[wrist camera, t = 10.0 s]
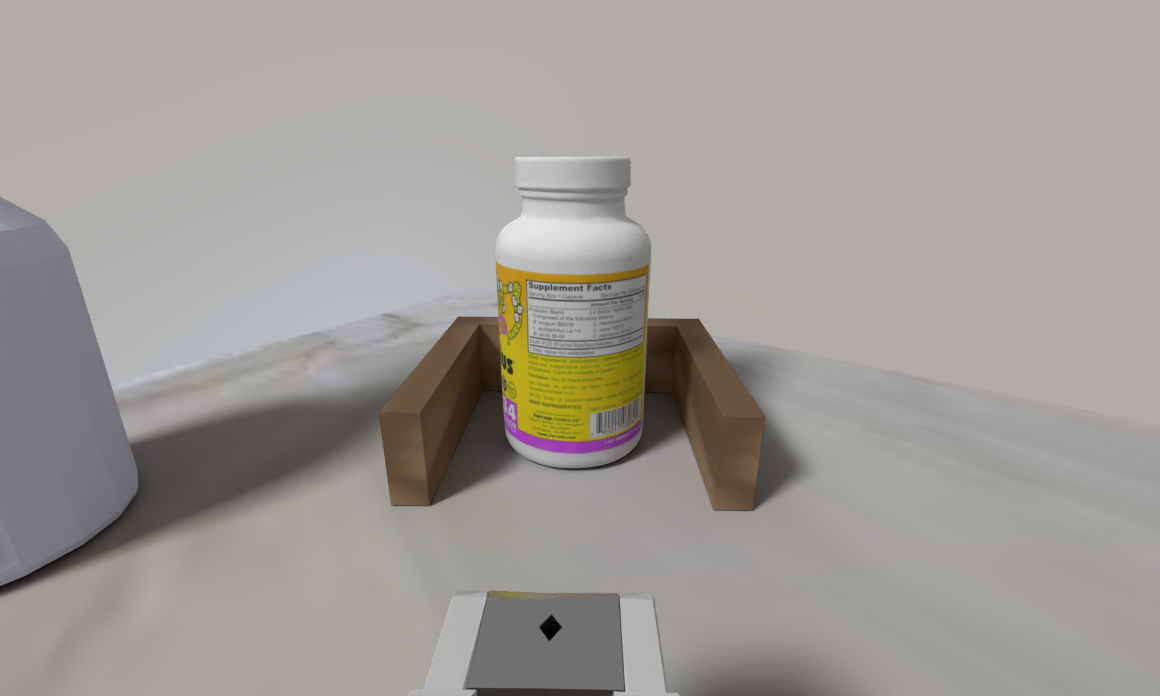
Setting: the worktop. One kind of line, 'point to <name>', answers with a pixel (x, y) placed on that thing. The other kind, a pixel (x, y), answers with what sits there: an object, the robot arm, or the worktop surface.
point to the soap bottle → (52, 406)
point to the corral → (473, 363)
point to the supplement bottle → (573, 313)
